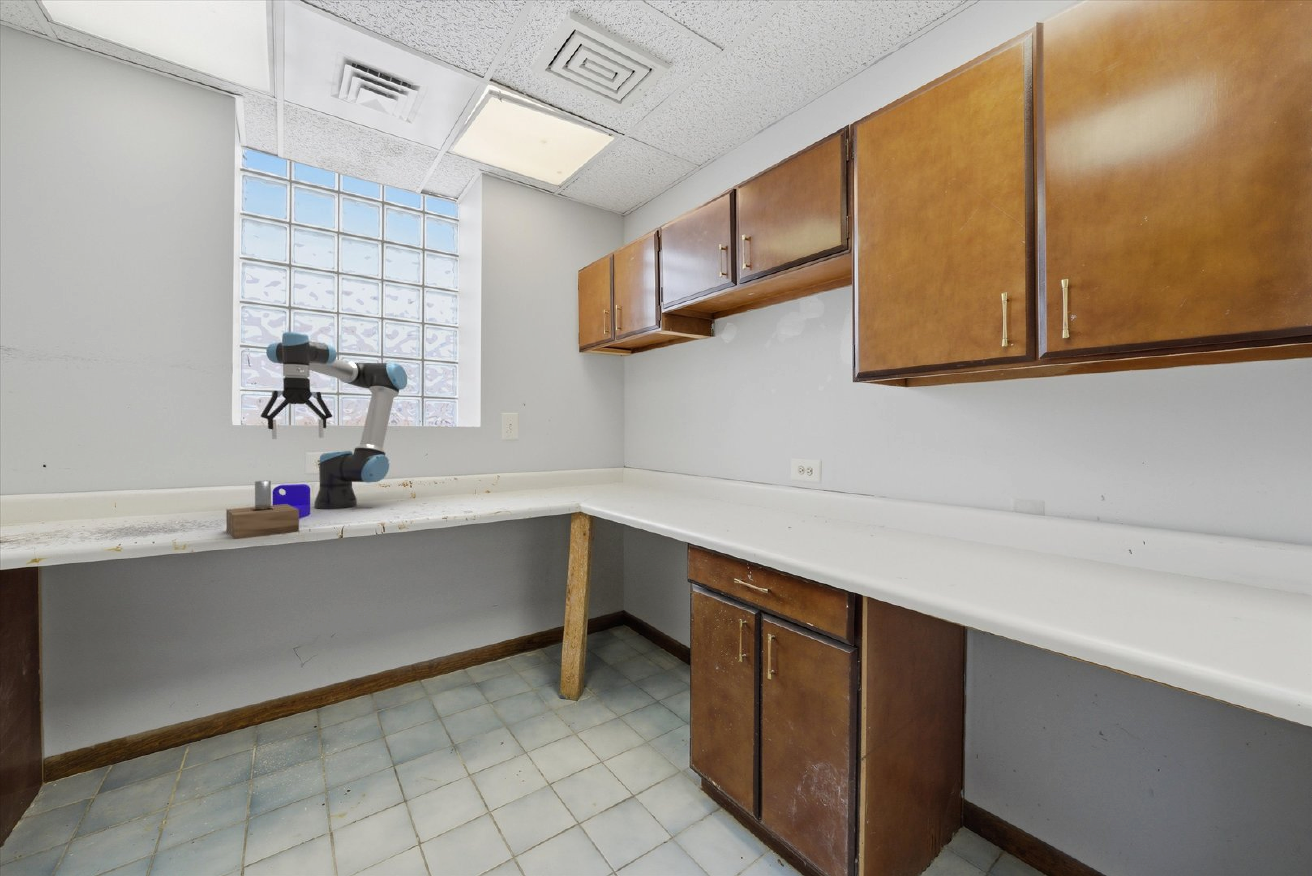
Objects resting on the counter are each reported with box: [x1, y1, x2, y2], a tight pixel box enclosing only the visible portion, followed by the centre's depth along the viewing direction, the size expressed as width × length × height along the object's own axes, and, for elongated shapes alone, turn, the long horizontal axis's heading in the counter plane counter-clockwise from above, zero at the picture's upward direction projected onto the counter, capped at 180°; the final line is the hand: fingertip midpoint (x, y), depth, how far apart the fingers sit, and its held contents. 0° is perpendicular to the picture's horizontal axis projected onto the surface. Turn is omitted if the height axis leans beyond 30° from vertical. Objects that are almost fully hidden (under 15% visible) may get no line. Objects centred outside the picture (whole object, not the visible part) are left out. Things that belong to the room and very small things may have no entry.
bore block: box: [225, 504, 300, 540], centre depth 159 cm, size 16×16×7 cm
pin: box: [254, 480, 272, 511], centre depth 159 cm, size 4×4×14 cm
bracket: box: [272, 483, 311, 520], centre depth 181 cm, size 18×11×12 cm, turn 27°
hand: (298, 438), depth 173 cm, fingers open, 13 cm apart
